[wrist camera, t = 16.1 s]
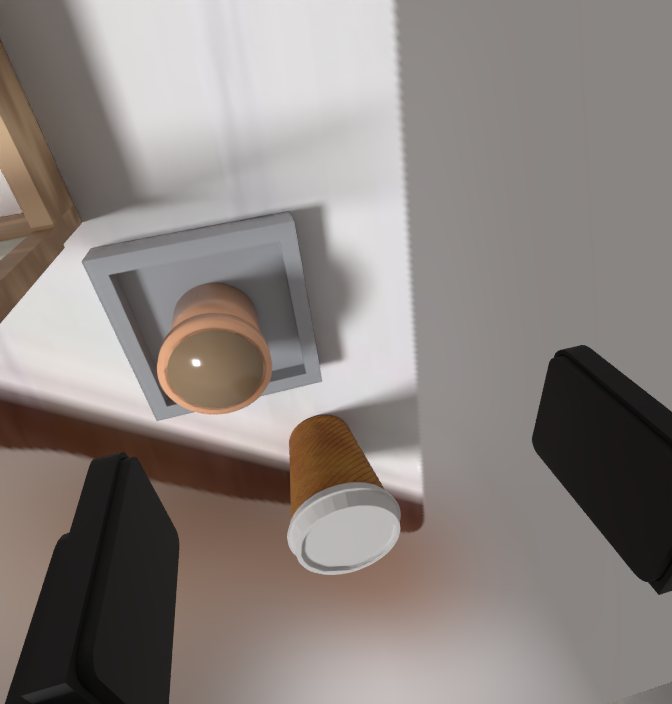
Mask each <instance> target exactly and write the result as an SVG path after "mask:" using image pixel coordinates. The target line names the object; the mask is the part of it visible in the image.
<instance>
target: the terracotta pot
mask: <svg viewBox="0 0 672 704" xmlns="http://www.w3.org/2000/svg"><path fill="white" fill-rule="evenodd" d="M157 374H158V379H159V382H160V385H161V386H162V388H163V390H164V391H165V393H166V394H167V395H168V396H169V397H170V398H171V399H172V400H173V401H174V402H176V403H177V404H178V405H180V406H182V407H184V408H186V409H188V410H191V411H194V412H197V413H202V414H226V413H231V412H234V411H237V410H240V409H242V408H244V407H246V406H248V405H250V404H251V403H253V402H254V401H255V400H256V399H258V398H259V397H260V396H261V395H262V393H263V392H264V391H265V389H266V388H267V386H268V384H269V382H270V379H271V375H272V360H271V355H270V350H269V346H268V343H267V341H266V339H265V338H264V336H263V335H262V333H261V332H260V327H259V321H258V315H257V311H256V308H255V306H254V304H253V302H252V301H251V299H250V298H249V297H248V296H247V295H246V294H245V293H244V292H242V291H241V290H239V289H237V288H235V287H233V286H230V285H228V284H223V283H206V284H202V285H198V286H196V287H194V288H192V289H190V290H188V291H187V292H186V293H185V294H184V295H183V296H182V297H181V298H180V299H179V300H178V302H177V304H176V306H175V308H174V312H173V318H172V323H171V329H170V332H169V333H168V334H167V336H166V337H165V339H164V341H163V343H162V345H161V348H160V352H159V357H158V363H157Z"/></svg>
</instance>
